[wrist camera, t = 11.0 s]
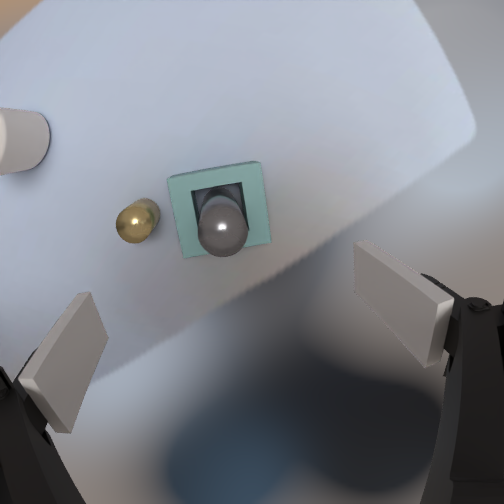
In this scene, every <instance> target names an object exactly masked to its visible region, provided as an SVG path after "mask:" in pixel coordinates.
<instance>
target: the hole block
mask: <svg viewBox="0 0 504 504" xmlns="http://www.w3.org/2000/svg"><path fill="white" fill-rule="evenodd" d="M167 182H168V188H169V193H170V198H171V203H172V208H173V212H174V217H175V222H176V227H177V231H178V236H179V240H180V245H181V249H182V253H183V258H189V257H195V256H200V255H205V254H210V253H208V252H207V251H206V250H205V249H204V248H203V247H202V246H201V244H200V242H199V239H198V226H199V220H200V218H199V213H198V207H197V202H196V197H195V191H194V190H198V189H204V188H209V187H214V186H220V185H226V184H232V183H237V182H239V187H240V193H241V200H242V206H243V212H244V218H245V221H246V224H247V227H248V237H247V241H246V243H245V245H244V246H243V247H242V248H244V247H249V246H255V245H260V244H266V243H272V242H271V234H270V227H269V220H268V213H267V205H266V198H265V191H264V184H263V177H262V171H261V164H260V162H257V161H250V162H244V163H237V164H231V165H225V166H220V167H214V168H208V169H203V170H198V171H192V172H187V173H182V174H177V175H173V176H171V177H170V178H168V179H167Z"/></svg>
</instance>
